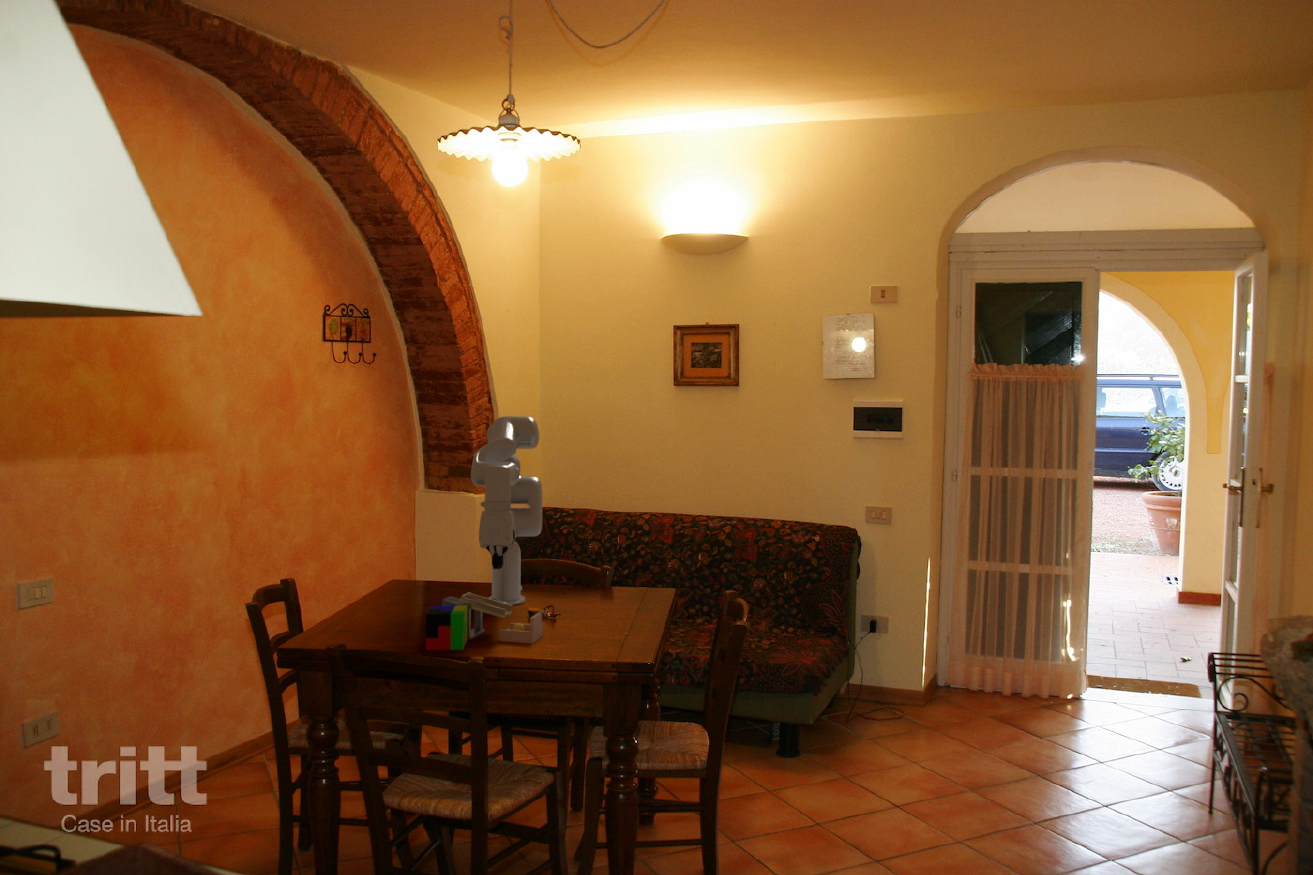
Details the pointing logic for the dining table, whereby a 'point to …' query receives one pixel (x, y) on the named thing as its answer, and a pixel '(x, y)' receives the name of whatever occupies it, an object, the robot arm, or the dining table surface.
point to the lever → (481, 604)
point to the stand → (477, 622)
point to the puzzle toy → (446, 628)
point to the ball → (518, 627)
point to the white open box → (527, 636)
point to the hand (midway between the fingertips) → (497, 568)
